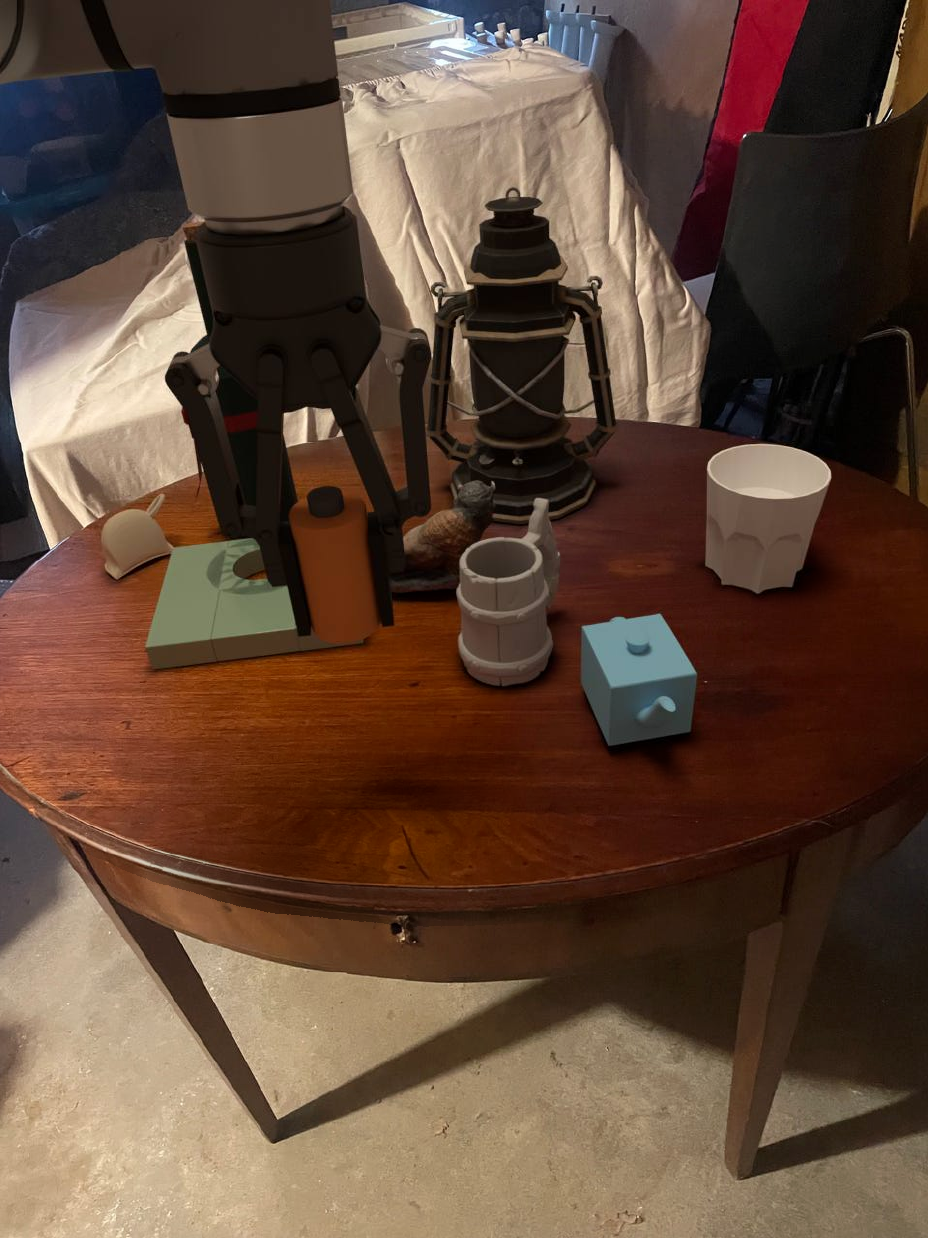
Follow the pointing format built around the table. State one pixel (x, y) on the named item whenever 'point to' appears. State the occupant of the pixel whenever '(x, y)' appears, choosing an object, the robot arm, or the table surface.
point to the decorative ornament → (133, 539)
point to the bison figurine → (445, 541)
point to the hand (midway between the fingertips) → (346, 617)
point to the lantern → (520, 368)
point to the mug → (509, 603)
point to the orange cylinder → (336, 564)
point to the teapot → (637, 679)
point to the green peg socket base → (222, 609)
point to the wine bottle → (235, 405)
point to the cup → (762, 513)
